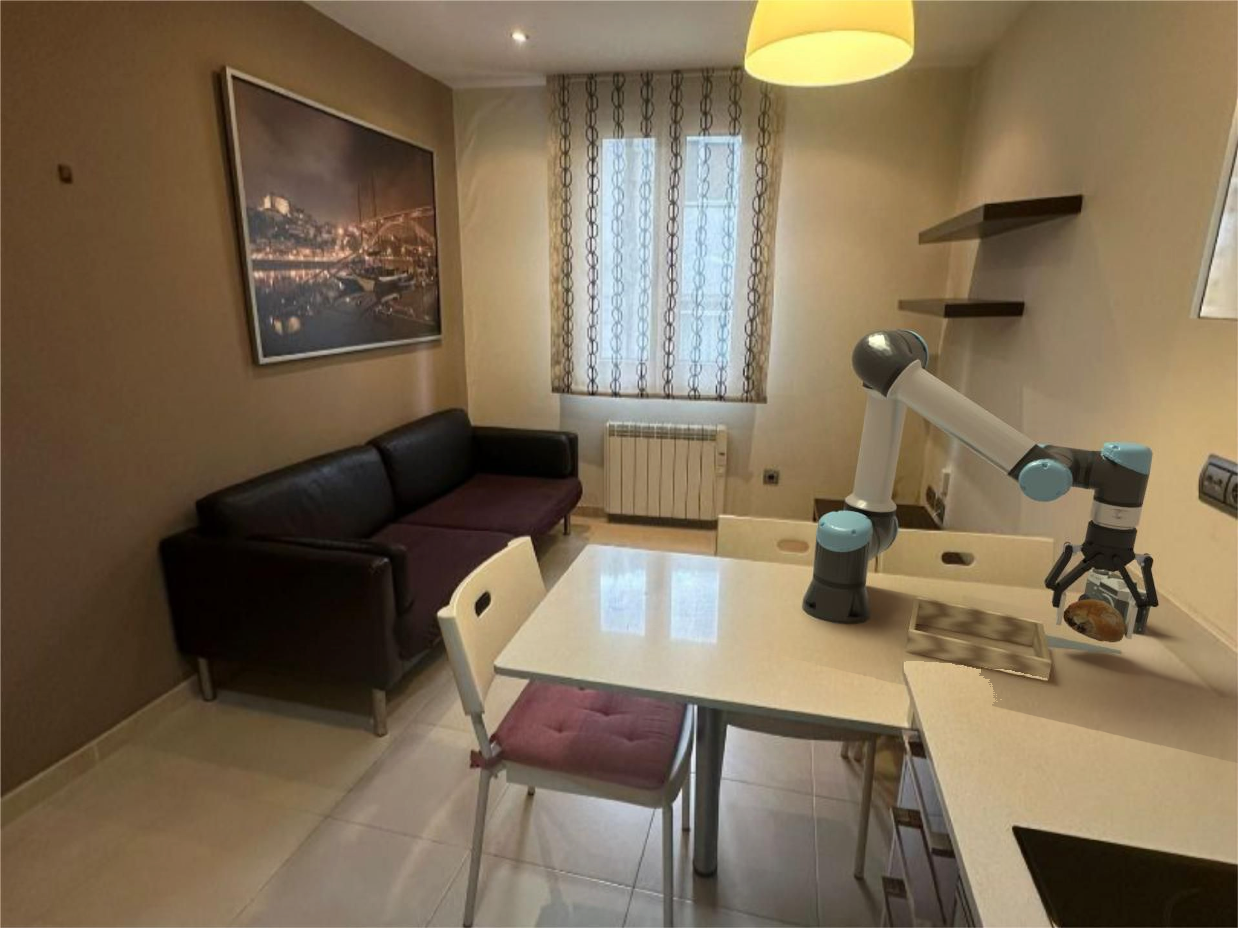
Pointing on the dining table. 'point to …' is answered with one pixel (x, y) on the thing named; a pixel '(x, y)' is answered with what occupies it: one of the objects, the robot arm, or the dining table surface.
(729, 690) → the dining table surface
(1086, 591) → the camera
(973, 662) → the crate
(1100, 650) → the mat
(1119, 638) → the bread roll
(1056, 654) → the dining table surface
